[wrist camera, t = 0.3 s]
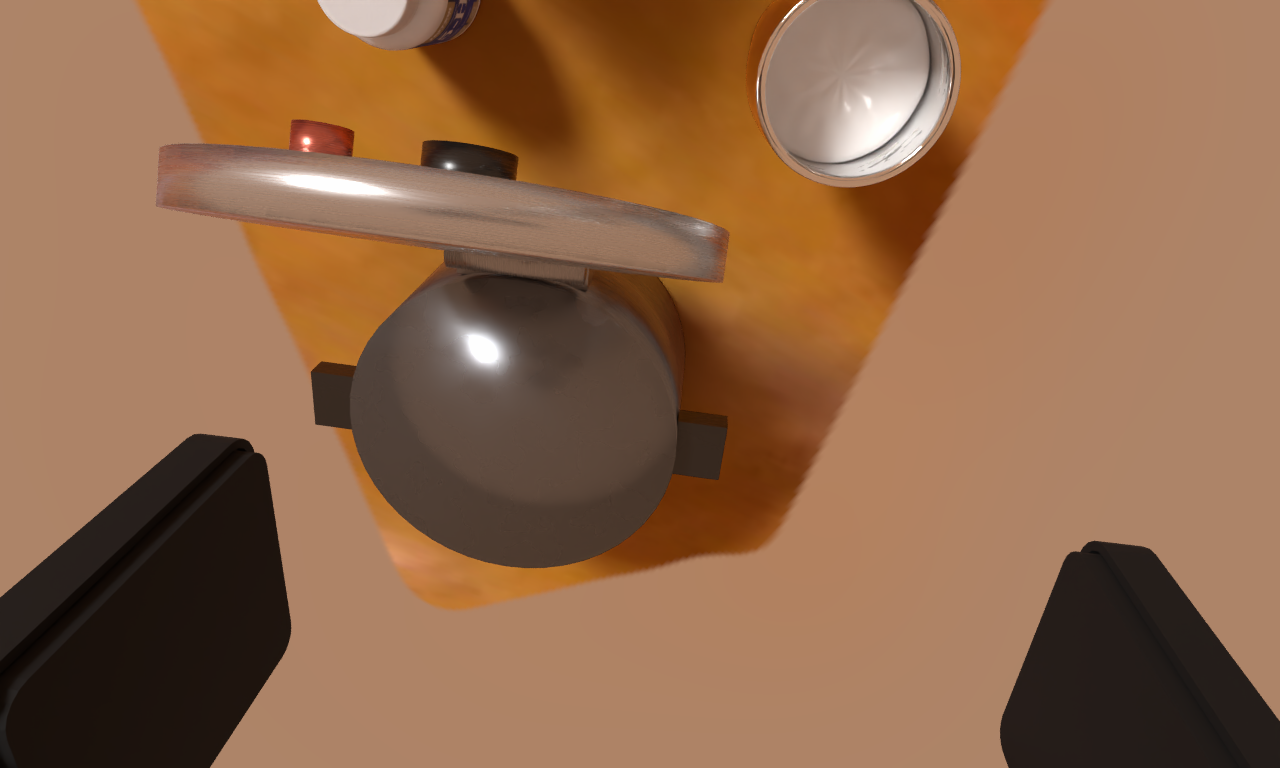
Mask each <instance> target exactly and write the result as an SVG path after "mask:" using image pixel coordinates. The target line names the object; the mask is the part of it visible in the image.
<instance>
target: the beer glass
mask: <svg viewBox="0 0 1280 768" xmlns="http://www.w3.org/2000/svg"><path fill="white" fill-rule="evenodd" d="M960 79H961V61H960V53H959V48H958V44H957V40H956V37H955V34H954V31H953V29H952V27H951V25H950V23H949V21H948V19H947V18H946V16H945V15H944V13H943V12H942V10H941V9H940V8H939V7H938V5H937V4H936V3H935V2H934V1H933V0H774V1H773V2H772V3H771V4H770V5H769V6H768V8H767V9H766V10H765V11H764V13H763V14H762V16H761V17H760V19H759V21H758V23H757V25H756V28H755V30H754V33H753V37H752V40H751V45H750V50H749V54H748V59H747V67H746V90H747V97H748V102H749V106H750V109H751V112H752V115H753V117H754V120H755V122H756V124H757V126H758V128H759V130H760V132H761V133H762V135H763V137H764V138H765V139H766V141H767V142H768V143H769V145H770V146H771V147H772V149H773V150H774V152H775V153H776V154H777V155H778V157H779V158H780V159H781V160H782V161H783V162H784V163H785V164H786V165H787V166H789V167H790V168H791V169H792V170H794V171H795V172H797V173H798V174H800V175H801V176H803V177H805V178H807V179H809V180H812V181H814V182H817V183H820V184H824V185H828V186H834V187H861V186H867V185H871V184H875V183H879V182H882V181H884V180H887V179H889V178H891V177H894V176H896V175H898V174H899V173H901V172H903V171H904V170H906V169H907V168H909V167H910V166H912V165H913V164H914V163H916V162H917V161H918V160H919V159H920V158H921V157H923V156H924V155H925V154H926V153H927V152H928V151H929V149H930V148H931V147H932V146H933V145H934V144H935V142H936V141H937V140H938V138H939V137H940V135H941V134H942V132H943V131H944V129H945V127H946V125H947V124H948V122H949V120H950V117H951V115H952V113H953V110H954V107H955V104H956V101H957V97H958V93H959V87H960Z"/></svg>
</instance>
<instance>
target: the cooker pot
mask: <svg viewBox="0 0 1280 768" xmlns="http://www.w3.org/2000/svg"><path fill="white" fill-rule="evenodd" d="M684 366H685V343H684V335H683V330H682V326H681V321H680V318H679V316H678V313H677V310H676V308H675V305H674V303H673V301H672V299H671V297H670V295H669V294H668V292H667V290H666V288H665V287H664V285H663V284H662V283H661V281H660V280H659V278H658V277H654V276H645V275H636V274H628V273H619V272H611V271H603V270H594V269H587V276H586V281H585V284H584V285H580V284H572V283H564V282H557V281H549V280H541V279H534V278H526V277H518V276H511V275H503V274H495V273H488V272H480V271H472V270H464V269H457V268H449V267H446V265H445V262H443V263H442V264H441V265H440V266H439V267H438V268H437V269H436V270H435V271H434V272H433V273H432V274H431V275H430V276H429V277H428V278H427V279H426V280H425V281H424V282H423V283H422V284H421V285H420V286H419V287H418V288H417V289H416V290H415V291H414V292H413V293H412V294H411V295H410V296H409V297H408V298H407V299H406V300H405V301H404V302H403V303H402V304H401V305H400V306H399V307H398V308H397V309H396V310H395V311H394V312H393V313H392V314H391V315H390V316H389V317H388V318H387V319H386V320H385V321H384V322H383V323H382V324H381V325H380V326H379V328H378V329H377V330H376V332H375V333H374V334H373V336H372V337H371V338H370V340H369V341H368V343H367V345H366V346H365V348H364V350H363V352H362V354H361V356H360V358H359V361H358V364H357V366H352V365H344V364H337V363H329V362H321V363H319V364H318V365H317V366H316V367H315V368H314V369H313V370H312V371H311V379H312V390H313V402H314V412H315V424H317V425H323V426H331V427H338V428H345V429H352V432H353V436H354V440H355V443H356V447H357V450H358V453H359V455H360V457H361V460H362V462H363V464H364V467H365V469H366V471H367V472H368V474H369V476H370V478H371V479H372V481H373V483H374V484H375V486H376V487H377V489H378V490H379V491H380V493H381V494H382V495H383V496H384V498H385V499H386V500H387V502H388V503H389V504H390V505H391V506H392V507H393V508H394V509H395V510H396V511H397V512H398V513H399V514H400V515H401V516H402V517H403V518H404V519H405V520H407V521H408V522H409V523H410V524H411V525H413V526H414V527H415V528H416V529H418V530H419V531H421V532H422V533H423V534H425V535H426V536H428V537H429V538H431V539H432V540H434V541H436V542H438V543H440V544H442V545H443V546H445V547H447V548H449V549H451V550H453V551H456V552H458V553H461V554H463V555H465V556H468V557H471V558H474V559H478V560H481V561H484V562H488V563H493V564H498V565H503V566H509V567H521V568H547V567H555V566H563V565H568V564H572V563H576V562H580V561H584V560H586V559H589V558H592V557H595V556H597V555H600V554H602V553H604V552H606V551H608V550H610V549H611V548H613V547H615V546H617V545H618V544H620V543H621V542H623V541H624V540H625V539H627V538H628V537H630V536H631V535H632V534H633V533H634V532H635V531H637V530H638V529H639V528H640V527H641V526H642V525H643V524H644V523H645V522H646V521H647V519H648V518H649V517H650V516H651V514H652V513H653V512H654V511H655V509H656V508H657V506H658V504H659V502H660V501H661V499H662V497H663V496H664V494H665V491H666V489H667V486H668V484H669V481H670V479H671V476H672V474H679V475H686V476H693V477H700V478H707V479H715V480H718V479H719V474H720V468H721V462H722V456H723V451H724V445H725V439H726V434H727V416H722V415H714V414H707V413H699V412H692V411H685V410H680V407H681V397H682V387H683V377H684Z"/></svg>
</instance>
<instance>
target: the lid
mask: <svg viewBox="0 0 1280 768" xmlns="http://www.w3.org/2000/svg"><path fill="white" fill-rule="evenodd" d="M353 142H354V131H352V130H350V129H347V128H344V127H340V126H337V125H332V124H327V123H322V122H316V121H309V120H292V121H291V132H290V145H289V150H286V149H276V148H264V147H252V146H239V145H221V144H171V145H165V146H162V147H160V148H159V161H158V178H157V179H158V180H157V195H156V206H157V207H161V208H165V209H171V210H176V211H182V212H187V213H193V214H199V215H205V216H211V217H218V218H224V219H230V220H236V221H243V222H249V223H256V224H263V225H269V226H276V227H283V228H290V229H297V230H303V231H310V232H317V233H324V234H331V235H338V236H345V237H352V238H359V239H367V240H374V241H381V242H388V243H395V244H403V245H410V246H417V247H425V248H432V249H439V250H444V262H445V265H446V267H449V268H457V269H464V270H472V271H480V272H488V273H495V274H503V275H511V276H518V277H526V278H534V279H541V280H549V281H557V282H564V283H572V284H580V285H584V284H585V281H586V276H587V269H594V270H603V271H611V272H619V273H628V274H636V275H645V276H654V277H663V278H672V279H682V280H692V281H702V282H716V283H723V278H724V271H725V264H726V257H727V250H728V242H729V232H728V231H727V230H725V229H724V228H721V227H719V226H717V225H714V224H712V223H709V222H705V221H702V220H699V219H696V218H693V217H689V216H685V215H681V214H678V213H674V212H670V211H666V210H662V209H657V208H653V207H649V206H645V205H640V204H636V203H631V202H626V201H621V200H617V199H612V198H607V197H602V196H597V195H592V194H587V193H582V192H576V191H571V190H566V189H561V188H555V187H549V186H544V185H538V184H532V183H527V182H521V181H516V176H517V167H518V157H517V156H516V155H514V154H511V153H508V152H505V151H502V150H498V149H494V148H489V147H485V146H479V145H474V144H467V143H460V142H452V141H438V140H431V141H424V142H423V145H422V156H421V166H418V165H411V164H404V163H396V162H389V161H381V160H374V159H366V158H358V157H352V154H353Z"/></svg>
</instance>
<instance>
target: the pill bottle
mask: <svg viewBox="0 0 1280 768" xmlns="http://www.w3.org/2000/svg"><path fill="white" fill-rule="evenodd" d="M318 2H319V4H320V6H321V8H322V10H323V11H324V13H325V14H326V15H327V17H328V18H329V19H330V20H331V21H332V22H333V23H334V24H335V25H337V26H338V27H339V28H340V29H342V30H344V31H345V32H347V33H350V34H352V35H355V36H356V37H358V38H359V39H361V40H362V41H364V42H366V43H368V44H370V45H372V46H374V47H377V48H381V49H385V50H406V49H411V48H417V47H422V46H428V45H433V44H439V43H443V42H447V41H450V40H452V39H454V38H456V37H458V36H459V35H461V34H462V33H463V32H464V31H465V30H466V29H467V28H468V27H469V26H470V25H471V23H472V22H473V20H474V18H475V16H476V14H477V11H478V8H479V5H480V0H318Z"/></svg>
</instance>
